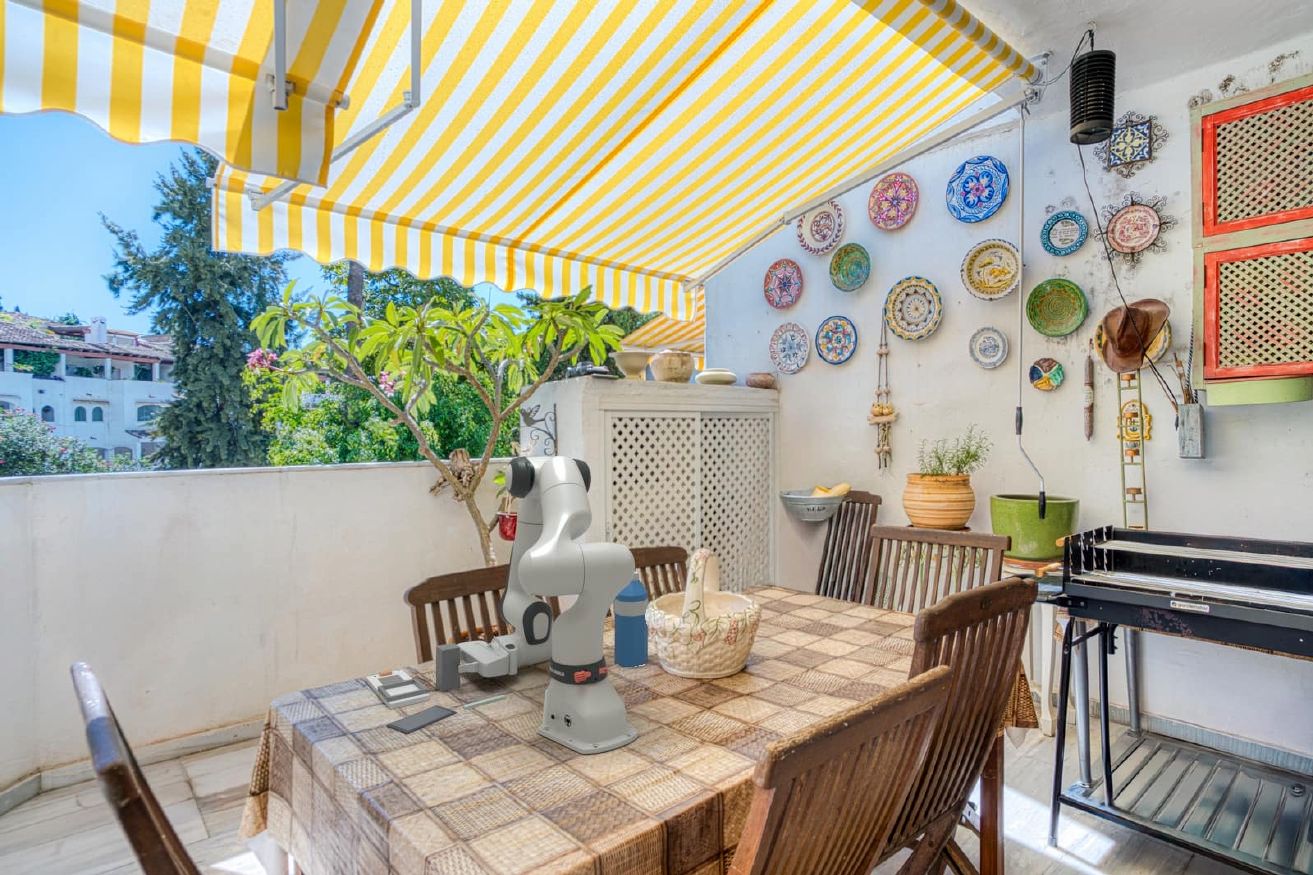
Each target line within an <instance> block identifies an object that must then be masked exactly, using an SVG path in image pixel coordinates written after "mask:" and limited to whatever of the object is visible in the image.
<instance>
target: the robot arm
mask: <svg viewBox="0 0 1313 875" xmlns="http://www.w3.org/2000/svg"><path fill="white" fill-rule="evenodd" d="M591 474H592V473H591V470H590V466H589V465H588V464H587V462H586V461H584V460H580V459H576V458H571V457H569V456H566V455H556V456H528V457H526V456H519V457H514V458H512V459H511V460H509V462H508V464H507V467H506V470H505V473H504V484H505V486H506V490H507V492H508V494H510V496H511V497H514V498H519V502H518V507H517V516H516V528H515V536H514V537H515V538H514V540H513V544H512V548H511V550H510V551H511V552H510V558H509V563H508V571H507V578H506V585H505V588H504V591H503V593H502V595H501V598H500V601H499V603H498V615H499V617H500V619H501V620H502V621H503V622H504V623H506V624H507V625H510V626H513V627H514V629H515V630H514V632H513V633H510V634H505V635H499V636H495V637H493V638H492V639H491V642H490V643H489V642H486V641H484V640H472V641H465V642H460V643H458V644H456V645H458V646H459V647H460V662H462V663H460V664H458V665H457V671H458V672H459V673H460V674H464V673H477V674H479V675H480V676H482V677H484V678H494V677H500V676H505V675H509V676H512V675H517V673H518V668H519V667H521V666H524V665H525V666H531V665H536V664H539V663H543V662H545V661H549V676H550V677H551V678H550V682H549V684H548V686H547V687H546V689H545V693H544V701H543V702H544V703H543V713H542V722H541V723H540V725H538V727H537V734H539V735H540V736H543V737H546V738H547V739H549V740H552V741H554V742H556V743H558V744H560V745H563V746H565V748H568V749H570V750H573V751H576V753H579V754H582V755H588V754H589V755H590V754H600V753H603V752H607V751H611V750H615V749H618V748H620V747H623V746H626V745H627V744H630V743H632V742H633V741H635V740H636V739H637V738H638V737H639V730H638V729H637V728H636V727H635V726H634V725H632V723H631V722H629V721H628V720H627V718H628V716H627V708H626V698H625V696H624V695H619V693H618V692H617V690H616V689H615V687H614V685H613V684H612V682H611V680H610V679H609V676H608V675H609V672H610V670H608V669H609V668H610V666H607V661H606V658H605V655H604V635H605V634H604V632H605V623H606V618H607V615H608V613H609V611H610V610H609V609H610V608H611V605H612V604H613V603H614V602H615V598H616V596H617V595H618V594H619V593H620V592H621V591H622V590H623V589H624V588H625V587H627V586H628V585H629V583H630V582H631V580H632V578H633V576H634V572H635V571H636V562H635V557H634V555H633V553H632V551H631V550H630V549H629V548H628V546H626V545H625V544H622V543H618V542H617V543H616V542H610V541H598V542H597V541H595V542H581V543H579V542H578V543H577V542H574V540H577V539H578V538H580V537H581V536H583V535H584V534H585V533H586V532H587V531H588V529H589V528H590V527H591V525H592V522H593V513H592V510H591V505H590V501H589V496H588V493H589V491H590V488H591V483H592V475H591ZM574 595H577V599H576V601H574V603H573V604H572V605H571V606H570V607H569V608H568V609H566V610H564V611H563V612H562V613H560V614H559V615H558V616H557V617H556V619H555V620H553V617H554V616H553V610H552V608H551V606H550V605H549V604H548V603H547V602H545V601H544V600H542V599H540V598H539V597H547V598H548V597H550V598H551V597H562V596H574Z"/></svg>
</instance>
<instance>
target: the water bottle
mask: <svg viewBox="0 0 1313 875" xmlns="http://www.w3.org/2000/svg"><path fill="white" fill-rule="evenodd" d="M639 574H640V572H639V571H636V570H635V572H634V576H633V578H632V580H631V582H630V583H629V585H628V586H627V587H625V588H624V589H623V590H622V591H621V592H620V593H619V594H618V595H617V596H616V598H615V599H614V644H613V646H614V653H613V654H614V664H615V665H616V664H618V665H619V666H621V667H620V668H625V667H635V666H639V665H643V664H646V665H647V663H648V662H649V625H648V626H647V624H646V620H645V613H646V609H647V606H648V607H649V591H648V590H647V589H646V587H645V585H644V584H643V583H642V582H641V580H640V576H639ZM647 661H648V662H647ZM646 662H647V663H646ZM618 665H617V666H618ZM619 666H618V667H619Z"/></svg>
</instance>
